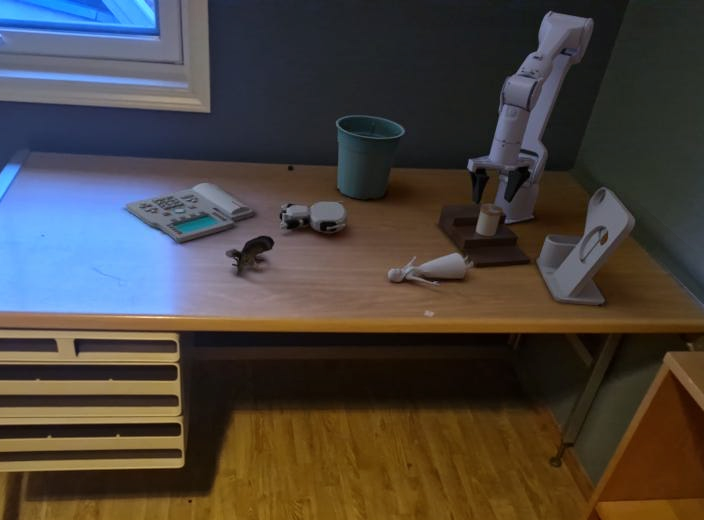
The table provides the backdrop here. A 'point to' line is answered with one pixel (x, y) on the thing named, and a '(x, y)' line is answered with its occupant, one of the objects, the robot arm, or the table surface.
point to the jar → (488, 219)
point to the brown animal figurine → (251, 252)
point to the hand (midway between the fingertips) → (491, 201)
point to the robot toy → (314, 216)
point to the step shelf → (480, 237)
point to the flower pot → (366, 154)
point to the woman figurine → (433, 269)
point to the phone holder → (585, 251)
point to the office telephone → (191, 212)
